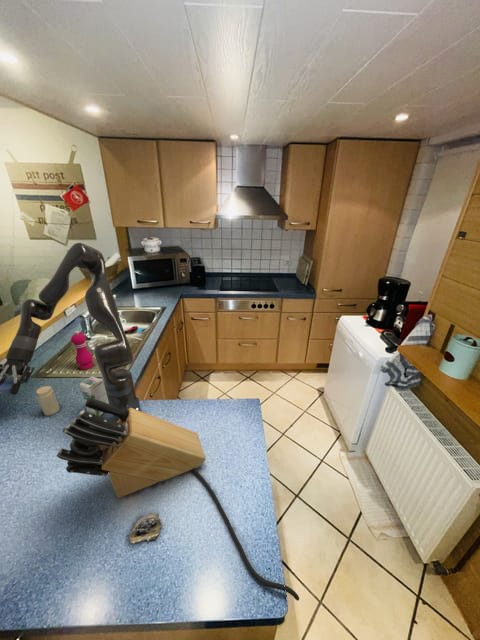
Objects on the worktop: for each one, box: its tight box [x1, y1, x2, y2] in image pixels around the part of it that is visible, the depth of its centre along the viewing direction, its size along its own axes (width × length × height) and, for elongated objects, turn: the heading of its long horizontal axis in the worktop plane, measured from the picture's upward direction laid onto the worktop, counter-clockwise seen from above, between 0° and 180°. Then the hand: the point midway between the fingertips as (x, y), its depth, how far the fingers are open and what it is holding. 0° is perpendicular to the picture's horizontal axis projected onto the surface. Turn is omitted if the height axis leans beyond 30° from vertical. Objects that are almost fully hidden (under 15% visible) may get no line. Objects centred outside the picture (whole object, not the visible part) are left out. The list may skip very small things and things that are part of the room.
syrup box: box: [79, 375, 109, 417], centre depth 97 cm, size 6×6×14 cm
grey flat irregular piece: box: [128, 512, 163, 545], centre depth 63 cm, size 7×8×2 cm
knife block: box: [56, 398, 207, 499], centre depth 71 cm, size 11×35×31 cm, turn 113°
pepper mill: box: [70, 330, 95, 370], centre depth 122 cm, size 7×7×20 cm
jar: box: [35, 385, 61, 416], centre depth 97 cm, size 5×5×11 cm
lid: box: [0, 379, 15, 395], centre depth 93 cm, size 6×6×2 cm
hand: (5, 393), depth 92 cm, fingers closed on lid, 5 cm apart
